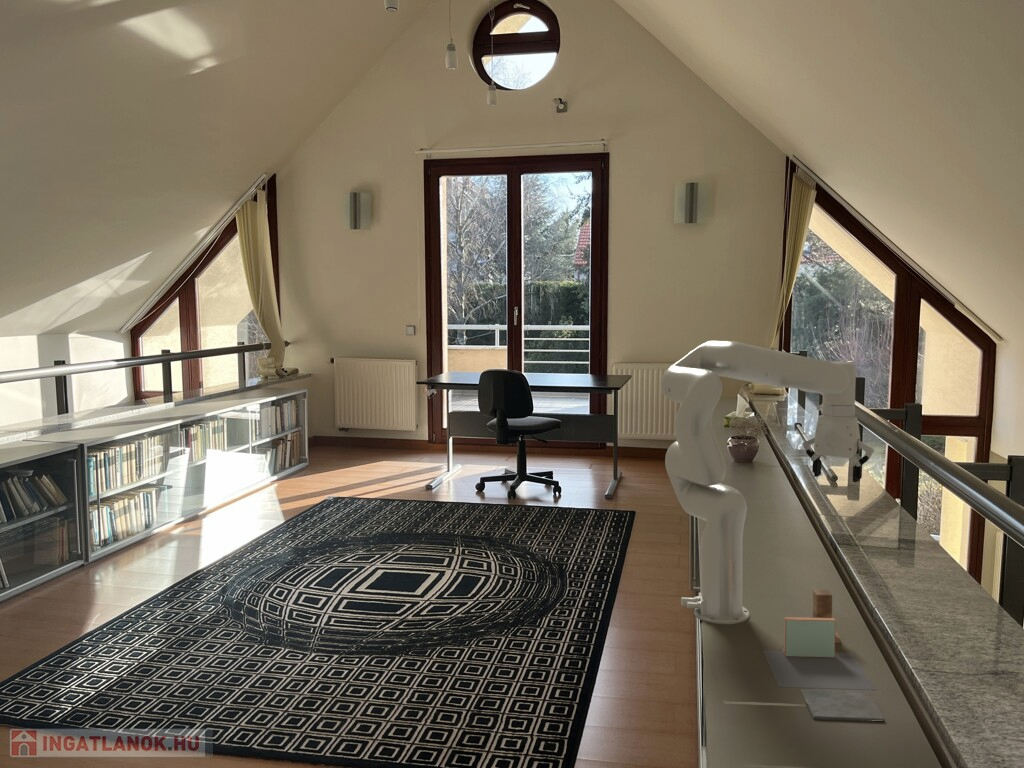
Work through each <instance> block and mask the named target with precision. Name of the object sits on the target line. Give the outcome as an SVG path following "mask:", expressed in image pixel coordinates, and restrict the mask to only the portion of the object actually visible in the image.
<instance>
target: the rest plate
mask: <svg viewBox="0 0 1024 768" xmlns="http://www.w3.org/2000/svg"><path fill="white" fill-rule="evenodd" d="M800 691H801V694H802V696H803V698H804V700H805V705H806V706H807V708H808V711H809V713H810V716H811V717H812V719H813V720H821V721H822V720H823V721H825V720H826V721H847V722H849V721H852V722H856V721H857V722H873V721H872V720H884V721H885V718H884V716H883V714H882V713H881V711H880V709H879V708H878V706H877V705H876V703H875V701H874V700H873V698H872V697H871V696H870V694H869V692H868V690H849V689H817V688H800ZM859 720H860V721H859ZM864 720H865V721H864ZM867 720H868V721H867ZM870 720H871V721H870Z"/></svg>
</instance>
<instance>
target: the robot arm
mask: <svg viewBox="0 0 1024 768" xmlns="http://www.w3.org/2000/svg"><path fill="white" fill-rule="evenodd" d="M856 374H857V368H856V365H855V363H852V362H850V361H827V360H822V359H820V358H819V359H818V358H813V357H808V356H803V355H798V354H795V353H794V354H793V353H790V352H786V351H780V350H776V349H770V348H768V347H767V348H766V347H762V346H757V345H752V344H748V343H745V342H741V341H733V340H732V341H731V340H715V339H714V340H707V341H706V342H704V343H702V344H700V345H698V346H697V347H696V348H694V349H693V350H691V351H690V352H688V354H686V355H684V356H683V357H682V358H680V359H679V360H677V361H676V362H675V363H673V364H672V365H671V366H669V367H668V368H667V369H666V371H665V372H664V373H663V375H662V377H661V380H660V388H661V389H660V390H661V392H662V394H663V395H664V397H666V399H668V400H669V401H672V402H674V403H679V404H680V406H679V408H678V410H677V413H676V416H675V418H674V422H673V431H674V432H673V433H674V435H675V439H676V440H675V441H674V442H673V443H671V444H670V445H669V447H668V448H667V451H666V453H665V458H664V459H665V460H664V463H665V464H664V465H665V466H664V467H665V470H666V472H667V475H668V478H669V481H670V483H671V486H672V488H673V490H674V493H675V495H676V498H677V500H678V502H679V504H680V506H681V509H683V510H684V512H685V513H687V514H689V515H690V516H692V517H695V518H698V519H700V520H703V521H704V522H706V525H705V528H704V530H703V532H702V534H701V537H700V538H701V539H700V592H698V595H697V596H696V595H695V596H694V597H689V596H686V597H685V596H681V599H680V601H681V602H680V603H681V606H687V608H686V609H694V610H693V611H694V615H695V617H696V618H697V619H698V620H700V621H705V622H707V623H712V624H717V625H718V624H719V625H734V624H741V623H743V622H745V621H747V620H749V618H750V611H749V609H747V608H746V607H744V606H743V538H744V537H743V535H744V533H743V532H744V527H745V522H746V518H747V511H748V510H747V509H748V505H747V500H746V498H745V497H744V495H743V493H741V492H740V491H739V490H738V489H736V488H735V487H732V486H731V485H728V484H724V483H721V482H723V481H724V480H725V477H726V474H727V465H726V461H725V457H724V456H723V453H722V450H721V448H720V445H719V443H718V440H717V438H716V435H715V431H714V428H713V424H712V423H713V422H712V420H713V419H712V417H713V414H714V411H715V408H716V406H717V404H718V402H719V401H720V399H721V396H722V393H723V383H722V379H721V377H724V378H730V379H735V380H740V381H745V382H750V383H755V384H761V385H764V386H769V387H776V388H785V389H789V388H790V389H797V390H800V391H802V392H805V393H812V394H822V403H821V404H818V405H816V410H817V411H820V412H821V415H818V417H817V422H816V426H815V432H814V433H815V434H814V437H813V438H811V439H808V440H806V441H803V442H802V446H803V448H804V451H805V454H806V455H807V456H808V457H809V458H810V461H812V473H813V477H815V478H817V477H819V476H822V464H823V462H822V459H821V458H822V456H823V457H832V458H840V459H850V460H851V461H852V463H853V464H854V466H852V482H853V483H857V482H860V480H862V478H863V477H862V476H863V466H864V465H865V464H866V463H867V462H868V461H869V460H870V459H871V457H872V456H873V454H874V452H875V448H873V447H871V446H869V445H868V444H866V443H864V442H862V441H861V434H860V433H861V432H860V426H859V425H860V424H859V420H858V417H857V416H855V415H856V413H855V411H856V408H855V407H856V381H857V380H856V377H857V376H856ZM812 445H813V449H812ZM861 450H862V451H864V452H865V454H864V455H863V456H862V457H861V456H860V453H861Z"/></svg>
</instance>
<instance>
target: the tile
mask: <svg viewBox="0 0 1024 768" xmlns="http://www.w3.org/2000/svg"><path fill="white" fill-rule="evenodd" d="M835 631H836V619H835V618H834V617H832V618H813V617H800V616H799V617H795V616H794V617H793V616H792V617H791V616H784V617H783V651H784V656H790V657H828V658H835V652H836V643H835Z"/></svg>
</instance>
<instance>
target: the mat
mask: <svg viewBox="0 0 1024 768" xmlns="http://www.w3.org/2000/svg"><path fill="white" fill-rule="evenodd" d="M762 652H763V654H764V657H765V659H766V661H767V665H768V666H769V669H770V672H771V674H772V676H773V679H774V681H775V683H776V686H777V687H778V688H795V689H797V688H798V689H799V688H800V689H822V690H854V691H877V689H876V688H875V686H874V685H873V682H872V681H871V680H870V679H869V676H868V675H867V674H866V672H865V671H864V669H863V668H862V666H861V665H860V663H859V662H858V659H856V657H855V656H854V653H852V652H837V651H835V658H828V657H790V656H784V650H763V651H762Z"/></svg>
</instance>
